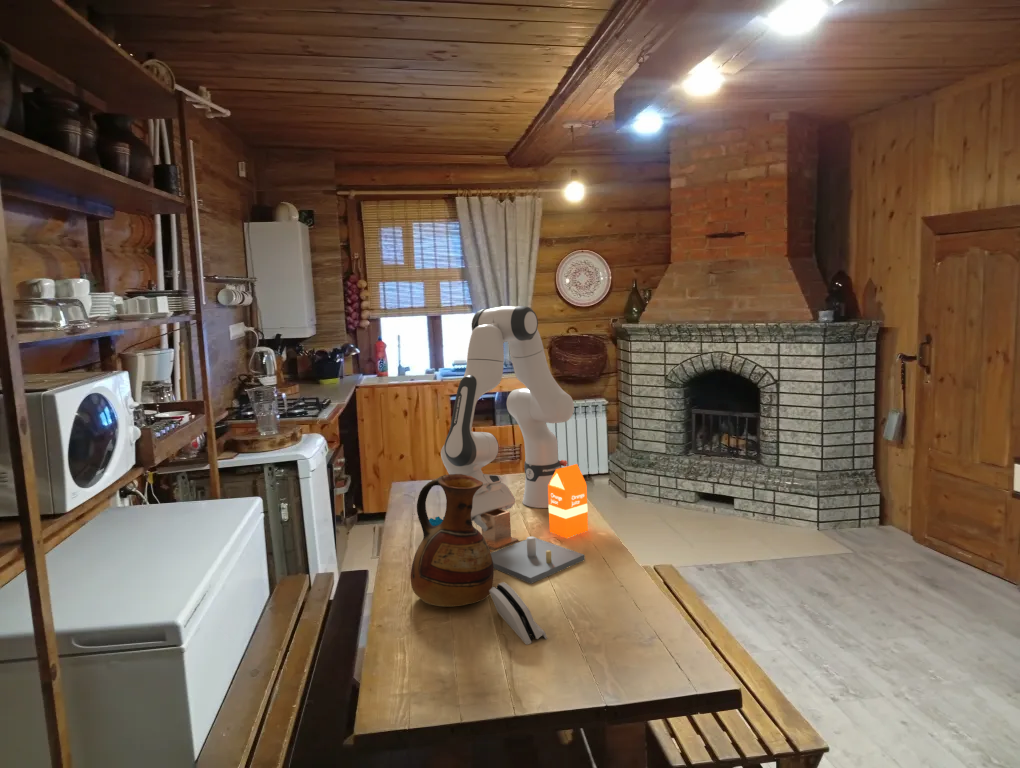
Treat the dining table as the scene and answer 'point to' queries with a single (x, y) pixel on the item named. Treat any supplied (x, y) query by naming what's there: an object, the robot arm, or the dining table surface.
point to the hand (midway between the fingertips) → (497, 526)
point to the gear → (435, 521)
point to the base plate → (534, 559)
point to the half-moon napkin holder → (515, 613)
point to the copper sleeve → (498, 529)
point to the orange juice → (568, 502)
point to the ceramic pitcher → (452, 548)
